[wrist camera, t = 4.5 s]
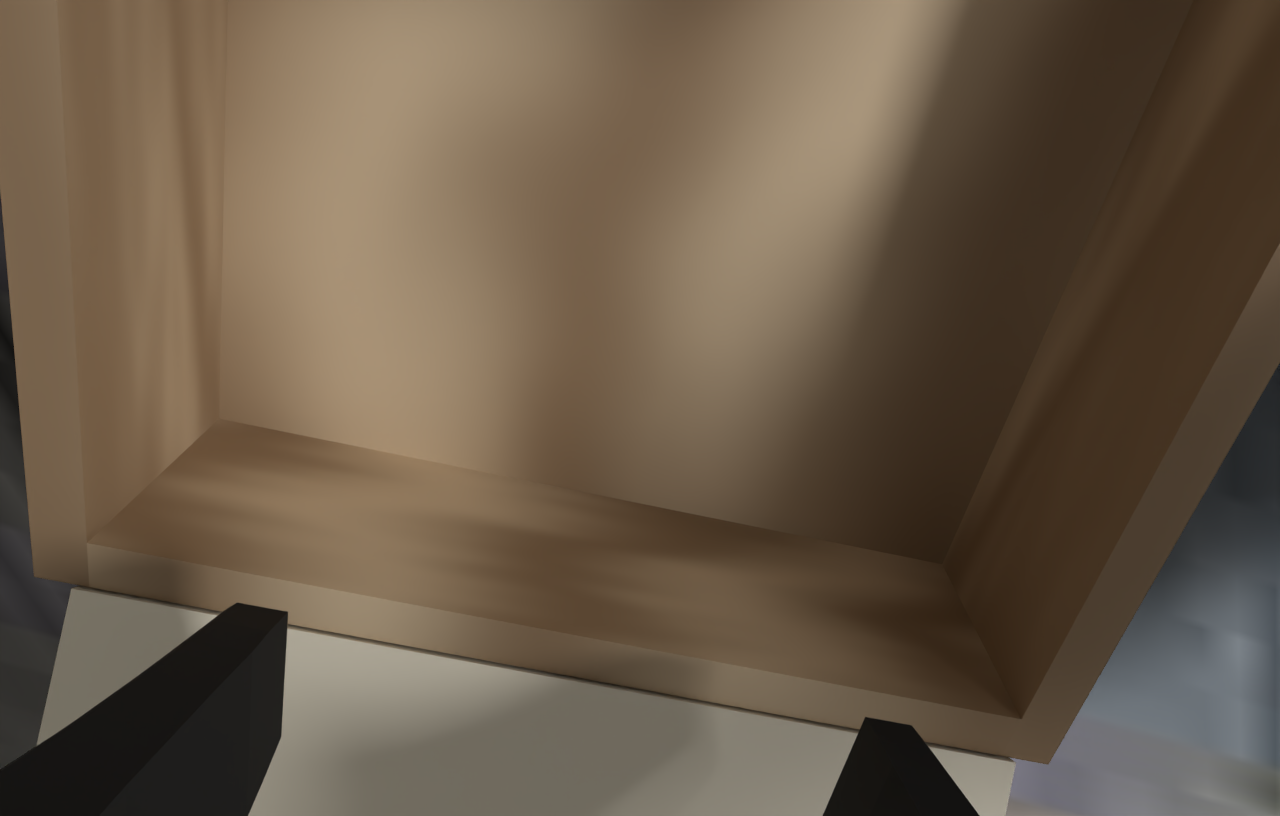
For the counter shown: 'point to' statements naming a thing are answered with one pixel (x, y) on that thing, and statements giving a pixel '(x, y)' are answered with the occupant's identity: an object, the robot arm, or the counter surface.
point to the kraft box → (649, 327)
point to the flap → (485, 731)
